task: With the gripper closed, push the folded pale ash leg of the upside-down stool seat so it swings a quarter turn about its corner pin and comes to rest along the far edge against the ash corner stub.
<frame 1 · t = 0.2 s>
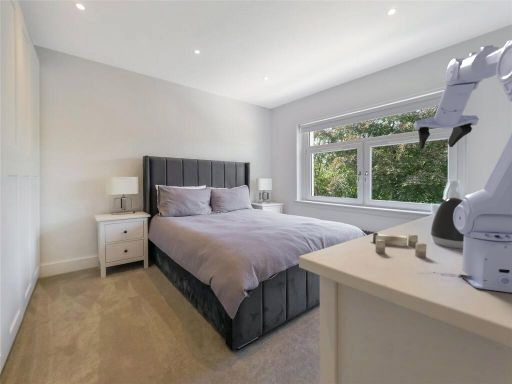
hand: (435, 145, 72), 31 cm above the table, tool tilted 45°, fingers open, 7 cm apart
dark grey tapered dome: (451, 249, 68), on the table
stool seat: (395, 253, 64), on the table
hinged leg: (389, 238, 69), point 3 cm above the table, hinge at 90.0°
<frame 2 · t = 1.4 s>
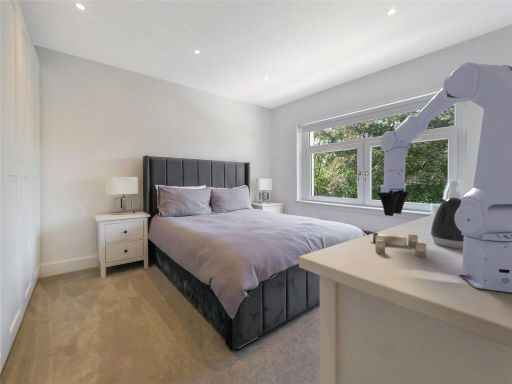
hand: (393, 214, 73), 9 cm above the table, tool pointing down, fingers open, 6 cm apart
nothing on the table moved.
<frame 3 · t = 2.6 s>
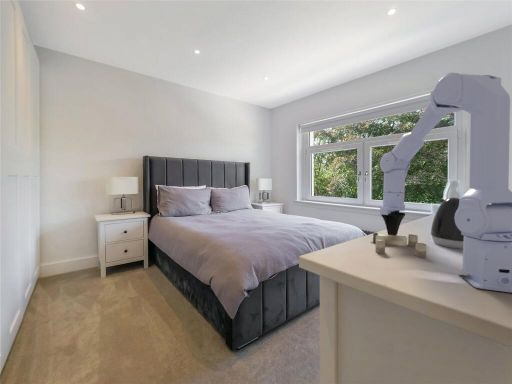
hand: (392, 235, 73), 3 cm above the table, tool pointing down, fingers closed
nothing on the table moved.
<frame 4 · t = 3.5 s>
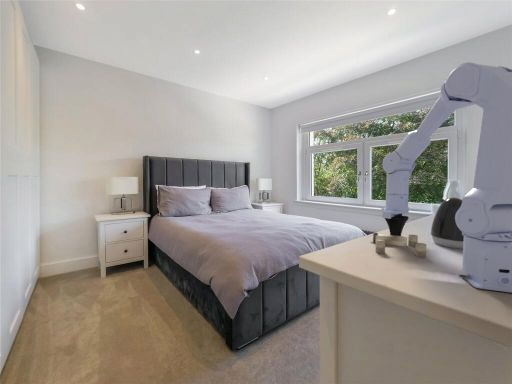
hand: (395, 239, 70), 2 cm above the table, tool pointing down, fingers closed, pressing on hinged leg
hinged leg: (389, 239, 69), point 3 cm above the table, hinge at 87.7°, touching gripper
everything else where it was.
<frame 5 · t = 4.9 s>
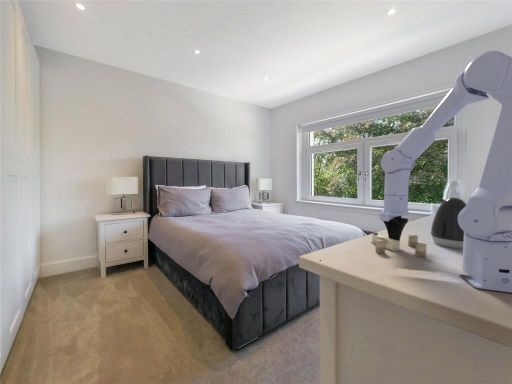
hand: (393, 243, 65), 2 cm above the table, tool pointing down, fingers closed, pressing on hinged leg
hinged leg: (384, 241, 66), point 3 cm above the table, hinge at 32.3°, touching gripper
everything else where it was.
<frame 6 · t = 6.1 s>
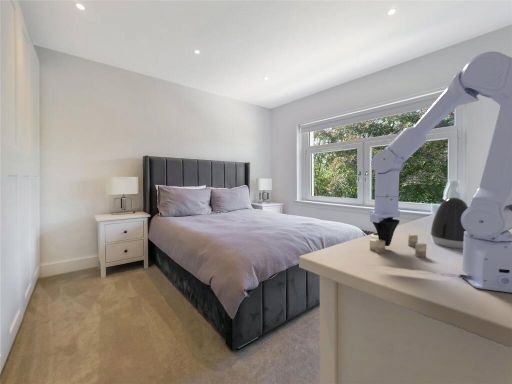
hand: (384, 245, 64), 2 cm above the table, tool pointing down, fingers closed
hinged leg: (374, 240, 67), point 3 cm above the table, hinge at -9.5°
everything else where it was.
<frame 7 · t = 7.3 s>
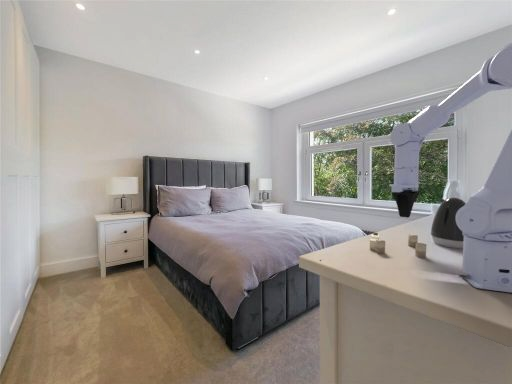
hand: (404, 216, 65), 10 cm above the table, tool pointing down, fingers closed
nothing on the table moved.
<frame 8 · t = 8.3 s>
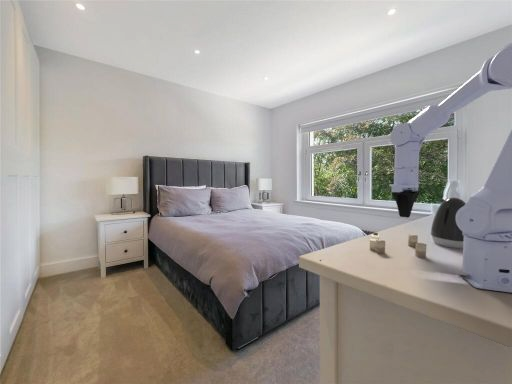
hand: (404, 216, 65), 10 cm above the table, tool pointing down, fingers closed
nothing on the table moved.
at the end: hinged leg at -10° (first picture: +90°); hinged leg touching nothing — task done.
